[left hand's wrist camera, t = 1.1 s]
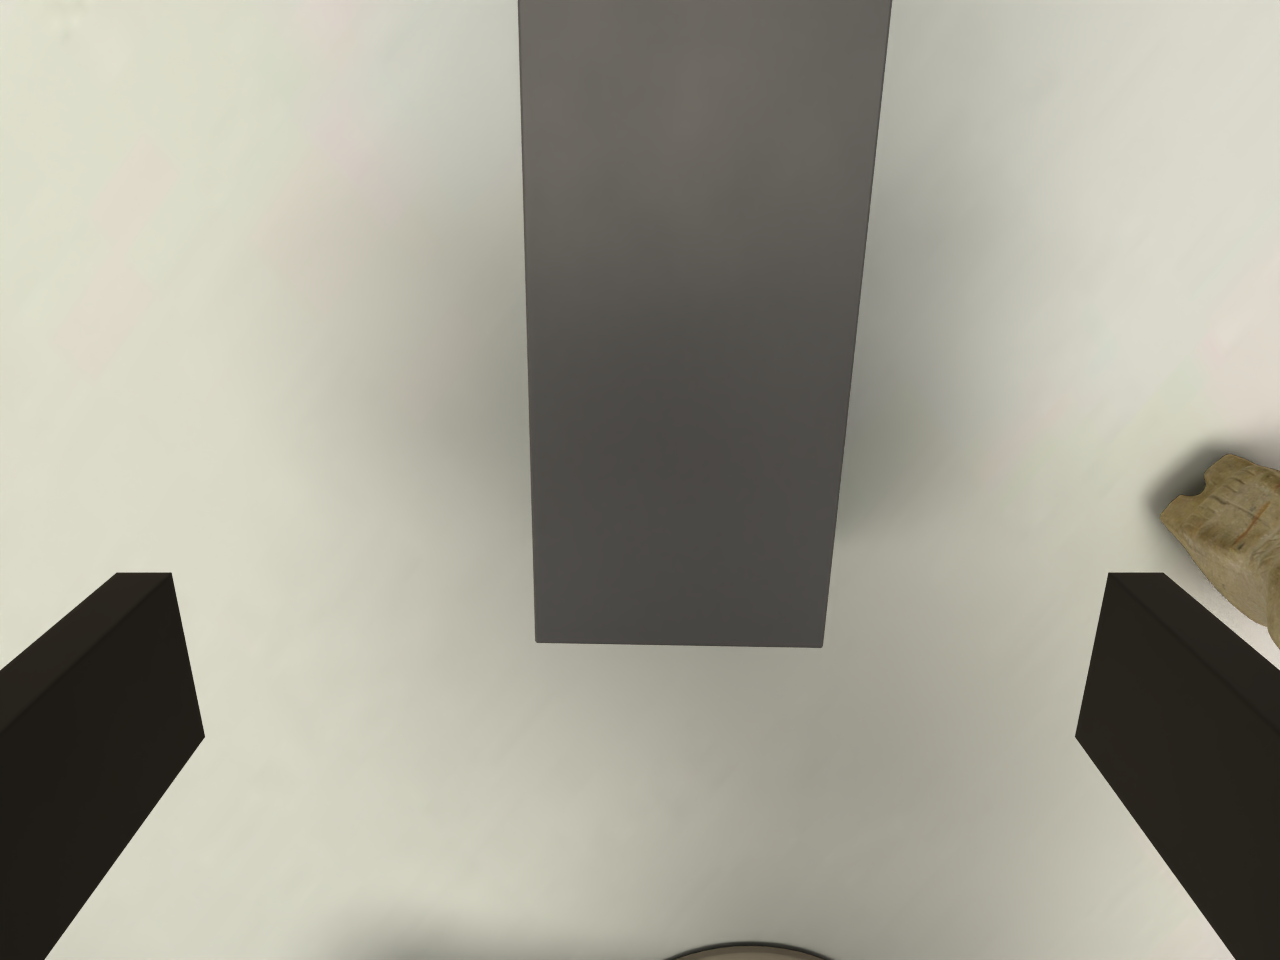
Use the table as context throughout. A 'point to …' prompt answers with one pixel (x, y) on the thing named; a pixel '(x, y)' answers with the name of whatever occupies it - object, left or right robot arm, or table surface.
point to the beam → (692, 308)
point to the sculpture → (1235, 536)
